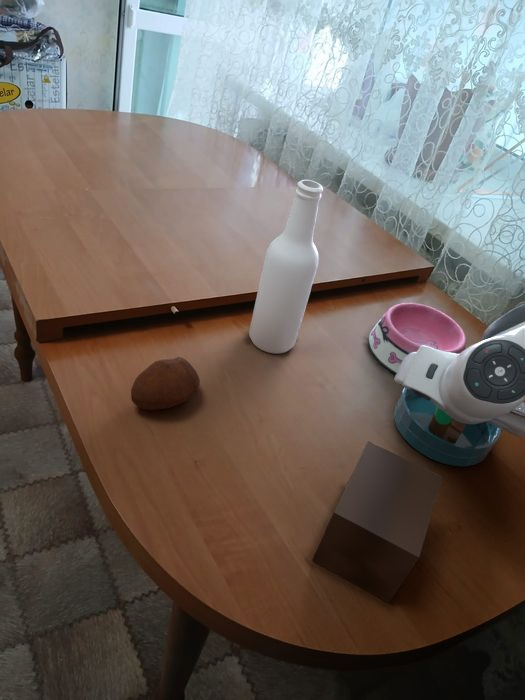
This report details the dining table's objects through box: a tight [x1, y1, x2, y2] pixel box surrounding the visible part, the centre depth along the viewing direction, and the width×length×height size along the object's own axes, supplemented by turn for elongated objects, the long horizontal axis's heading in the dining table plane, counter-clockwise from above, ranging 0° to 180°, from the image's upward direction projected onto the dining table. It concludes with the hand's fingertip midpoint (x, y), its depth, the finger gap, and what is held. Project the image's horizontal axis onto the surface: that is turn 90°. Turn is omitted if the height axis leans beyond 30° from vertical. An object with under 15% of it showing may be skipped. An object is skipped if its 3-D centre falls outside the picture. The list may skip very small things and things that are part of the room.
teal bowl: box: [393, 387, 502, 467], centre depth 88 cm, size 16×16×4 cm
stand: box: [312, 440, 443, 604], centre depth 67 cm, size 10×13×10 cm
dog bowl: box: [367, 302, 467, 376], centre depth 103 cm, size 18×19×7 cm
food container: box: [429, 407, 466, 444], centre depth 86 cm, size 12×6×10 cm, turn 144°
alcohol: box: [248, 179, 324, 354], centre depth 91 cm, size 9×9×30 cm
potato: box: [130, 356, 201, 411], centre depth 80 cm, size 8×12×8 cm, turn 138°
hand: (455, 401), depth 87 cm, fingers open, 6 cm apart
